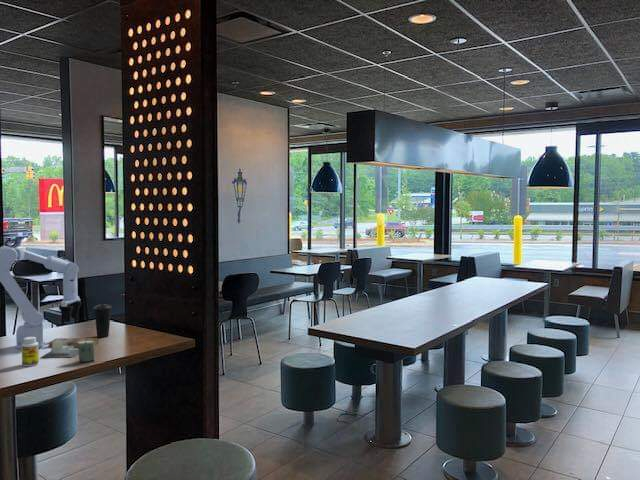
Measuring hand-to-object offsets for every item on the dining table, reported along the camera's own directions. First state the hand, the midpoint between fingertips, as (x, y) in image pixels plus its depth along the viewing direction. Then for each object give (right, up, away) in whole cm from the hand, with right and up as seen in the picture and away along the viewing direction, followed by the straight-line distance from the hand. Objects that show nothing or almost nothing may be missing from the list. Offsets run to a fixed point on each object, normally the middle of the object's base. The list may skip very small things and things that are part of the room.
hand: (70, 319), depth 235 cm
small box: (+20, -12, -29) cm, 37 cm away
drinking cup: (+10, -9, +9) cm, 17 cm away
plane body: (+4, -10, -6) cm, 12 cm away
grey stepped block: (+6, -10, -20) cm, 23 cm away
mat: (+6, -11, -20) cm, 24 cm away
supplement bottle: (+1, -12, -34) cm, 36 cm away
